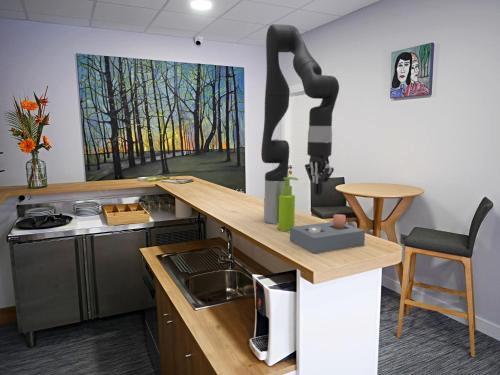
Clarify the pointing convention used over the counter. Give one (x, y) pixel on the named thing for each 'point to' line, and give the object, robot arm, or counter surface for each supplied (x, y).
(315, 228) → the steel plug
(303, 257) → the counter surface
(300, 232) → the plug board
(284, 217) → the soap dispenser
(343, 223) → the terracotta plug
